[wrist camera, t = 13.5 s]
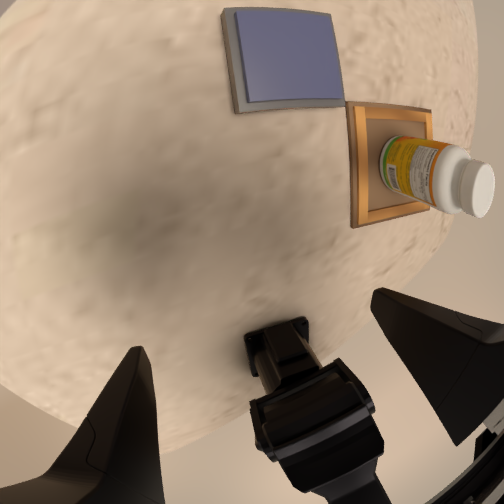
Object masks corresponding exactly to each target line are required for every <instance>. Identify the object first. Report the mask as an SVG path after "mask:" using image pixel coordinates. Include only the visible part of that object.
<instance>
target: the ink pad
mask: <svg viewBox="0 0 504 504" xmlns="http://www.w3.org/2000/svg"><path fill="white" fill-rule="evenodd" d="M221 21H222V27H223V34H224V41H225V48H226V55H227V61H228V68H229V75H230V82H231V89H232V96H233V103H234V110H235V114H239V113H247V112H256V111H266V110H278V109H294V108H324V107H346V106H345V97H344V89H343V81H342V74H341V67H340V61H339V54H338V49H337V43H336V38H335V33H334V28H333V23H332V18H331V14H328V13H321V12H314V11H307V10H297V9H286V8H268V7H233V8H224V10H223V12H222V14H221Z"/></svg>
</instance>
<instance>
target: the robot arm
mask: <svg viewBox="0 0 504 504" xmlns="http://www.w3.org/2000/svg"><path fill="white" fill-rule="evenodd" d="M370 308H371V312H372V313H373V315H374V317H375V319H376V320H377V322H378V324H379V326H380V327H381V329H382V330H383V333H384V334H385V336H386V338H387V339H388V341H389V342H390V344H391V345H392V347H393V348H394V350H395V351H396V352H397V354H398V355H399V357H400V358H401V360H402V361H403V363H404V364H405V366H406V367H407V369H408V370H409V372H410V373H411V374H412V376H413V378H414V379H415V381H416V382H417V384H418V385H419V387H420V388H421V390H422V391H423V393H424V394H425V396H426V398H427V399H428V401H429V402H430V404H431V406H432V407H433V409H434V411H435V412H436V414H437V416H438V417H439V419H440V421H441V422H442V424H443V426H444V427H445V429H446V431H447V432H448V434H449V436H450V438H451V439H452V441H453V443H454V444H455V446H458V445H459V444H460V443H462V441H464V440H465V439H466V438H467V437H468V436H469V435H470V434H471V433H472V432H473V431H474V430H475V429H476V428H477V427H478V426H479V425H480V424H481V423H482V422H483V423H484V425H485V426H486V427H487V428H486V429H485V430H484V431H483V432H482V433H481V434H480V435H479V436H478V437H477V438H476V442H475V453H474V461H473V463H472V464H471V465H470V466H469V467H468V468H467V469H466V470H465V471H464V472H463V473H462V474H461V475H460V476H458V477H457V478H456V479H455V480H454V481H453V482H452V483H450V484H449V485H448V486H447V487H446V488H444V489H443V490H442V491H441V492H440V493H438V494H437V495H436V496H434V497H433V498H432V499H430V500H429V501H428V502H426V503H425V504H504V324H500V323H496V322H492V321H488V320H484V319H480V318H476V317H473V316H469V315H466V314H463V313H460V312H457V311H453V310H450V309H448V308H445V307H442V306H438V305H435V304H432V303H429V302H426V301H423V300H420V299H417V298H414V297H411V296H408V295H405V294H402V293H399V292H396V291H393V290H390V289H387V288H383V287H382V288H378V289H375V290H374V291H373V295H372V300H371V305H370ZM249 338H251V339H249ZM244 342H245V347H246V351H247V356H248V360H249V365H250V369H251V373H252V376H253V377H258V376H260V379H261V382H262V384H263V387H264V389H265V392H266V394H267V395H265V396H263V397H261V398H258V399H253V400H251V401H249V402H250V407H251V409H250V414H251V418H252V423H253V427H254V432H255V445H256V448H257V449H258V450H260V451H263V452H264V453H265V454H266V455H267V457H268V458H269V459H270V460H271V461H272V462H276V461H279V464H280V465H281V467H282V469H283V470H284V472H285V474H286V475H287V477H288V479H289V480H290V482H291V484H292V485H293V487H295V488H296V489H298V490H299V491H301V492H303V493H307V492H310V491H311V492H314V493H316V494H318V495H320V496H323V497H325V499H326V500H327V502H328V504H392V503H391V501H390V500H389V498H388V496H387V494H386V492H385V490H384V488H383V486H382V484H381V483H380V481H379V479H378V477H377V475H376V473H375V470H376V465H377V460H378V457H380V456H381V455H383V453H384V440H383V438H382V436H381V434H380V432H379V429H378V427H377V426H376V423H375V421H374V419H373V417H372V414H373V413H375V406H374V403H373V401H372V399H371V396H370V395H369V393H368V391H367V389H366V388H365V386H364V385H363V384H362V382H361V381H360V380H359V379H358V378H357V377H356V376H355V374H354V373H353V372H352V371H351V370H350V369H349V368H348V367H347V366H346V365H345V364H344V362H343V361H342V360H341V359H340V358H337V359H335V360H334V362H332V363H330V364H328V365H326V366H325V367H322V365H321V363H320V362H319V360H318V359H317V357H316V355H315V354H314V352H313V351H312V349H311V347H310V346H309V344H308V343H309V322H308V320H307V318H306V317H302V318H299V319H296V320H293V321H289V322H286V323H283V324H280V325H276V326H273V327H270V328H266V329H263V330H259V331H256V332H252V333H249V334H246V335H245V336H244ZM0 504H165V499H164V492H163V484H162V476H161V467H160V456H159V444H158V429H157V408H156V398H155V392H154V384H153V377H152V369H151V364H150V361H149V359H148V357H147V354H146V352H145V350H144V348H143V347H142V346H135V347H131V348H130V349H129V351H128V352H127V354H126V355H125V357H124V358H123V360H122V361H121V363H120V364H119V366H118V367H117V369H116V370H115V372H114V373H113V375H112V376H111V378H110V379H109V381H108V382H107V384H106V385H105V387H104V389H103V390H102V392H101V393H100V395H99V396H98V398H97V400H96V401H95V403H94V404H93V406H92V408H91V409H90V411H89V412H88V414H87V417H85V419H84V420H83V422H82V424H81V425H80V427H79V428H78V430H77V432H76V433H75V435H74V436H73V437H72V439H71V440H70V442H69V443H68V444H67V446H66V447H65V449H64V450H63V451H62V452H61V454H60V455H59V456H58V458H57V459H56V460H55V462H54V463H53V464H52V466H51V467H50V468H49V469H48V470H47V471H46V472H45V473H44V474H43V475H41V476H39V477H37V478H34V479H31V480H28V481H25V482H22V483H18V484H15V485H11V486H7V487H3V488H0Z"/></svg>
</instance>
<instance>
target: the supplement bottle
mask: <svg viewBox="0 0 504 504" xmlns="http://www.w3.org/2000/svg"><path fill="white" fill-rule="evenodd" d="M380 173H381V177H382V179H383V182H384V183H385V185H386V186H387V187H388V188H389V189H390V190H392V191H394V192H397V193H399V194H401V195H404V196H406V197H409V198H412V199H414V200H417V201H419V202H421V203H424V204H426V205H429V206H431V207H433V208H435V209H438V210H440V211H442V212H445V213H447V214H457V213H459V212H461V211H462V210H463V211H464V212H466V213H467V214H470V215H472V216H474V217H477V218H481V217H483V216H484V215H485V214H486V213H487V211H488V210H489V208H490V206H491V203H492V200H493V195H494V189H495V178H494V173H493V170H492V168H491V166H490V165H489V164H487V163H484V162H481V161H478V160H474V159H471V157H470V155H469V154H468V152H467V151H466V150H465V149H463V148H462V147H460V146H456V145H453V144H448V143H443V142H438V141H433V140H428V139H422V138H415V137H409V136H395V137H393V138H391V139H390V140H389V141H388V142H387V143H386V144H385V146H384V148H383V150H382V153H381V156H380Z"/></svg>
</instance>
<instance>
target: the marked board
mask: <svg viewBox="0 0 504 504" xmlns="http://www.w3.org/2000/svg"><path fill="white" fill-rule="evenodd" d="M345 103H346V113H347V124H348V137H349V153H350V177H351V228H353V229H354V228H359V227H363V226H367V225H371V224H375V223H379V222H383V221H387V220H391V219H395V218H399V217H403V216H408V215H412V214H416V213H420V212H424V211H428V210H430V206H429V205H426V204H424V203H421V202H419V201H417V200H414V199H412V198H409V197H406V196H404V195H401V194H399V193H397V192H394V191H392V190H390V189H389V188H388V187H387V186H386V185H385V183H384V182H383V179H382V177H381V173H380V156H381V153H382V150H383V148H384V146H385V144H386V143H387V142H388V141H389V140H390V139H391V138H393V137H395V136H409V137H415V138H422V139H428V140H433V135H432V113H431V110H429V109H423V108H416V107H409V106H401V105H392V104H382V103H368V102H349V101H348V102H345Z"/></svg>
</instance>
